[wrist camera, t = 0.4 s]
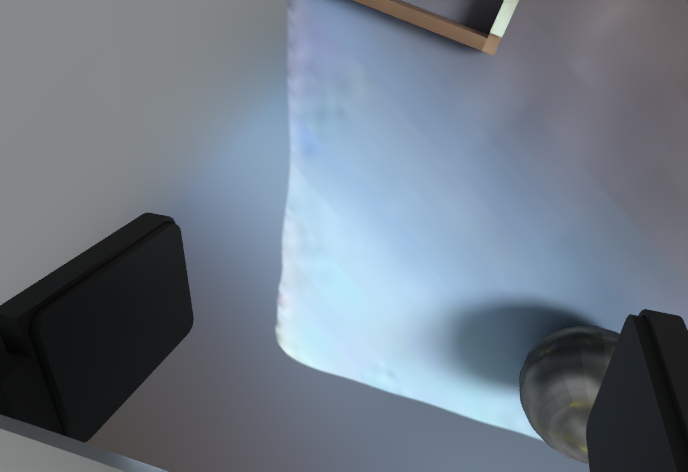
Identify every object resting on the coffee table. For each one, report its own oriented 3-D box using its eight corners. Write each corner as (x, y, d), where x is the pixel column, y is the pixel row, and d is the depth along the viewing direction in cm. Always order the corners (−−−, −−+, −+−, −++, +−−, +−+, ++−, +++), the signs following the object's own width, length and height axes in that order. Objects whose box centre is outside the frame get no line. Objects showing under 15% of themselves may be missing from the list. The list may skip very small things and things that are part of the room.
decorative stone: (555, 280, 40) (561, 364, 32) (680, 333, 39) (721, 434, 30) (500, 364, 45) (493, 454, 37) (608, 412, 44) (626, 517, 36)
